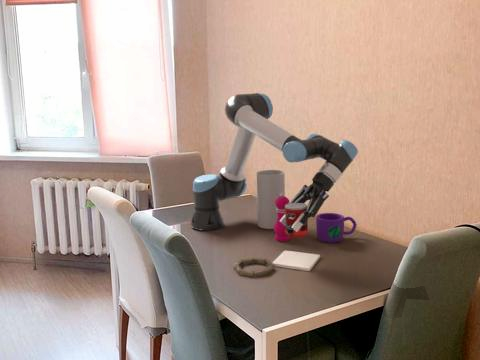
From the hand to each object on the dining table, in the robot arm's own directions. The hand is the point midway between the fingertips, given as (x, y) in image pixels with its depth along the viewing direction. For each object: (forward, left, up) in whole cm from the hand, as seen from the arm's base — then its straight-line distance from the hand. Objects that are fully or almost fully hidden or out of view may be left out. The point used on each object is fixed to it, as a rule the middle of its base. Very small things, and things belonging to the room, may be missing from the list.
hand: (288, 226), depth 168 cm
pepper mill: (-11, +25, -14) cm, 30 cm away
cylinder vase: (-22, +41, -14) cm, 48 cm away
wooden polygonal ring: (-10, -9, -14) cm, 20 cm away
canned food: (+2, +3, -4) cm, 5 cm away
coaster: (+2, +3, -14) cm, 14 cm away
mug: (+10, +33, -14) cm, 37 cm away
